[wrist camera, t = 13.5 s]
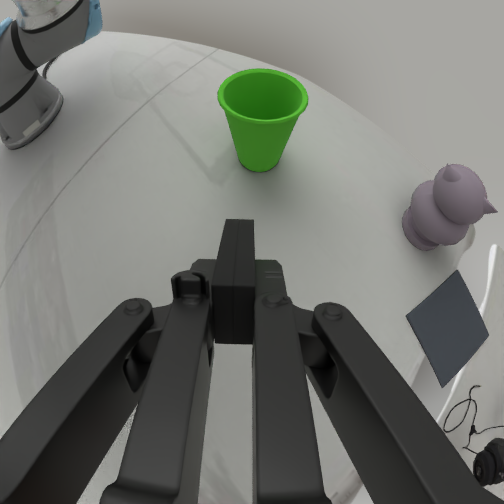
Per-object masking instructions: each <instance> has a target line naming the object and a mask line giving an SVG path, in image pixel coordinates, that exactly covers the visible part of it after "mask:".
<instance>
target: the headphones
mask: <svg viewBox="0 0 504 504" xmlns="http://www.w3.org/2000/svg"><path fill="white" fill-rule="evenodd" d="M474 387H475V386H473V387H472V388H471V389H473V388H474ZM479 387H480V385H479ZM471 389H470V393H471ZM469 395H470V394H469ZM467 400H470V401H471V400H472V399H471V396H470V399H467ZM467 400H465V401H467ZM473 401H474V402H475V400H473ZM462 402H464V401H462ZM462 402H460V403H462ZM460 403H459V404H460ZM459 404H457V405H459ZM475 404H476V402H475ZM457 405H456V406H457ZM469 405H470V402H469ZM456 406H454V407H456ZM453 409H454V408H453ZM453 409H452V410H453ZM468 409H469V406H468ZM468 409H467V411H468ZM452 410H451V411H452ZM451 411H450V412H451ZM476 412H477V405H476ZM449 414H450V413H449ZM449 414H448V416H449ZM466 414H467V412H466ZM466 414H465V416H466ZM448 416H447V418H448ZM475 416H476V413H475ZM447 418H446V420H447ZM464 418H465V417H464ZM474 419H475V417H474ZM446 420H445V423H446ZM463 421H464V419H463ZM463 421H462V422H463ZM462 422H461V423H462ZM461 423H460V424H461ZM473 423H474V420H473ZM460 424H459V425H460ZM459 425H458V426H459ZM458 426H457V427H458ZM444 427H445V424H444ZM457 427H456V428H457ZM498 427H504V426H498ZM491 428H496V427H491ZM454 429H455V428H454ZM454 429H453V430H454ZM488 429H490V428H488ZM485 430H487V429H485ZM485 430H484V431H485ZM444 431H445V429H444ZM451 431H452V430H451ZM445 432H450V431H445ZM476 432H477V431H476V430H475V425H473V426H471V432H470V434H469V435H470V436H471V435H472V434H473V433H476ZM482 432H483V431H482ZM482 432H481V433H482ZM476 434H480V433H476ZM469 443H470V437H469ZM468 445H469V444H468ZM467 447H468V446H467ZM463 448H466V447H463ZM466 449H468V448H466ZM468 450H469V451H471V452H473V451H472V450H470V449H468ZM473 453H475V452H473ZM476 454H477V455H476V458H475V460H474V462H473V474H474V477H475V478H476V480H477V481H478V483H479V484H480V486H482V487H484V486H486V485H492V484H498V483H501V482H503V481H504V439H502V438H495V439H493V440H492V441H490V442H489V443H488V444H487V446H486V447H485V448H484V450H483V451H481V452H479V453H476Z"/></svg>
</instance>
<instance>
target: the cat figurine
mask: <svg viewBox="0 0 504 504" xmlns="http://www.w3.org/2000/svg"><path fill="white" fill-rule="evenodd" d="M496 212H497V210H496V209H495V208H494V207H493V206H492V204H491V203H490V202H489V201H488V200H487V193H486V190H485V187H484V185H483V182H482V181H481V179H480V178H479V176H478V175H477V174H476V173H475V172H473V171H472V170H471V169H469V168H468V167H465V166H463V165H458V164H451V165H448V164H447V165H446V166H445V167H443V168H441V169H440V170H439V172H438V173H437V175H436V176H435V179H434V180H429V181H426V182H424V183H422V184H420V185H419V186H418V187H417V188H416V190H415V191H414V193H413V195H412V200H411V206H410V207H409V208H408V209H407V210H406V211H405V213H404V214H403V219H402V224H403V229H404V232H405V235H406V236H407V238H408V240H409V241H410V242H411V243H412V244H413V245H414V246H415V247H417V248H419V249H420V250H425V251H428V250H432V249H434V248H435V247H437V246H438V245H439V244H441V245H445V246H446V245H454V244H456V243H458V242H459V241H460V240H462V239H463V238H464V237H465V235H466V233H467V231H468V228H469V225H470V224H474V223H476V222H477V221H478V220H480V219H481V218H482V217H483V215H484V214H489V213H496Z"/></svg>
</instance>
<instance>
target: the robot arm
mask: <svg viewBox="0 0 504 504" xmlns="http://www.w3.org/2000/svg"><path fill="white" fill-rule="evenodd" d="M12 1H13V2H14V3H15V5H16V6H17V7H18V8H19V10H18V13H17V17H16V20H15V21H12V19H11V18H10V17H8V18H6V19H5V20H4V21H2V22H1V23H0V137H1V139H2V142H3V143H4V144H5V145H6V146H7V147H8V148H9V149H16V148H20V147H22V146H24V145H26V144H27V143H29V142H30V141H32V140H33V139H34V138H36V137H37V136H38V135H39V134H40V133H41V132H42V131H44V130H45V129H46V127H47V126H48V125H49V124H50V123H51V122H52V121H53V119H54V118H55V117H56V115H57V113H58V112H59V110H60V108H61V106H62V102H63V97H62V95H61V93H60V91H59V90H58V89H57V88H56V87H55V86H54V85H52V84H51V83H50V82H48V81H47V80H46V70H47V68H48V66H49V65H50V64H51V63H52V61H53V60H54V59H55V58H56V57H57V56H59V55H60V54H62V53H64V52H66V51H68V50H70V49H72V48H74V47H76V46H78V45H80V44H83V43H84V42H85V41H87V40H89V39H90V38H92V37H94V36H96V35H98V34H99V33H100V31H101V29H102V15H101V8H100V3H99V0H12ZM48 61H49V62H48ZM46 62H48V63H47V65H46V66H45V68H44V70H43V77H42V76H40V75H39V73H38V71H37V69H36V68H38V67H40V66H41V65H43V64H45V63H46ZM171 284H172V291H173V298H174V299H173V302H172V304H170V305H167V306H162V307H156V308H152V305H151V303H150V302H149V301H148V300H145V299H142V298H132V299H129V300H126V301H124V302H122V303H121V304H120V305H118V306H117V307H116V309H115V310H114V311H113V312H112V313H111V314H110V315H109V316H108V317H107V318H106V319H105V320H104V321H103V322H102V323H101V324H100V325H99V326H98V327H97V328H96V329H95V330H94V331H93V332H92V333H91V334H90V336H89V337H88V338H87V339H86V340H85V341H84V342H83V343H82V344H81V345H80V346H79V347H78V348H77V349H76V351H75V352H74V353H73V354H72V355H71V356H70V357H69V358H68V359H67V360H66V362H65V363H64V364H63V365H62V366H61V367H60V368H59V369H58V371H57V372H56V373H55V374H54V375H53V376H52V377H51V378H50V380H49V381H48V382H47V383H46V384H45V385H44V387H43V388H42V389H41V390H40V391H39V392H38V394H37V395H36V396H35V397H34V398H33V399H32V401H31V402H30V403H29V404H28V405H27V407H26V408H25V409H24V410H23V412H22V413H21V414H20V415H19V416H18V418H17V419H16V420H15V421H14V423H13V424H12V425H11V427H10V428H9V429H8V430H7V432H6V433H5V434H4V435H3V437H2V438H1V439H0V504H76V503H77V501H78V500H79V498H80V496H81V495H82V493H83V491H84V490H85V488H86V486H87V485H88V483H89V481H90V480H91V478H92V477H93V475H94V473H95V472H96V470H97V468H98V467H99V465H100V463H101V462H102V460H103V459H104V457H105V455H106V454H107V452H108V450H109V449H110V447H111V446H112V444H113V442H114V441H115V439H116V437H117V436H118V434H119V433H120V431H121V429H122V428H123V426H124V425H125V423H126V421H127V420H128V418H129V417H130V415H131V413H132V412H133V410H134V409H135V407H136V405H137V404H138V406H137V409H136V412H135V416H134V419H133V422H132V426H131V429H130V433H129V437H128V440H127V444H126V447H125V451H124V455H123V459H122V463H121V466H120V470H119V474H118V477H117V479H116V481H115V482H114V483H112V484H110V485H108V486H107V487H106V488H105V490H104V491H103V493H102V496H101V499H100V503H99V504H198V493H199V482H200V472H201V462H202V452H203V442H204V433H205V424H206V415H207V407H208V398H209V390H210V381H211V373H212V365H213V357H214V346H213V342H214V339H215V343H219V344H253V348H252V441H253V504H332V502H331V500H330V499H329V498H328V497H327V496H326V494H325V492H324V487H323V479H322V472H321V465H320V459H319V452H318V445H317V439H316V433H315V426H314V420H313V414H312V408H311V402H310V396H309V390H308V384H307V379H306V374H307V376H308V378H309V380H310V382H311V383H312V385H313V387H314V389H315V391H316V393H317V395H318V397H319V399H320V401H321V403H322V405H323V407H324V409H325V411H326V413H327V415H328V416H329V418H330V420H331V422H332V424H333V426H334V428H335V430H336V432H337V434H338V436H339V438H340V440H341V442H342V443H343V445H344V447H345V449H346V451H347V453H348V455H349V457H350V459H351V461H352V463H353V465H354V466H355V468H356V470H357V472H358V474H359V476H360V478H361V480H362V482H363V484H364V485H365V487H366V489H367V491H368V493H369V495H370V497H371V499H372V501H373V503H374V504H504V501H503V500H502V499H500V498H498V497H497V496H495V495H494V494H492V493H491V492H489V491H488V490H486V489H485V488H483V487H482V486H480V484H479V483H478V481H477V480H476V478H475V477H474V475H473V474H472V472H471V471H470V469H469V468H468V466H467V465H466V463H465V462H464V461H463V459H462V458H461V456H460V455H459V453H458V452H457V450H456V449H455V448H454V446H453V445H452V443H451V442H450V441H449V439H448V438H447V436H446V435H445V434H444V432H443V431H442V429H441V428H440V427H439V425H438V424H437V423H436V421H435V420H434V419H433V417H432V416H431V414H430V413H429V412H428V411H427V409H426V408H425V406H424V405H423V404H422V402H421V401H420V400H419V398H418V397H417V396H416V394H415V393H414V392H413V390H412V389H411V388H410V386H409V385H408V384H407V383H406V381H405V380H404V379H403V377H402V376H401V375H400V373H399V372H398V371H397V370H396V368H395V367H394V366H393V365H392V363H391V362H390V361H389V359H388V358H387V357H386V356H385V354H384V353H383V352H382V351H381V349H380V348H379V347H378V346H377V344H376V343H375V342H374V341H373V339H372V338H371V337H370V336H369V334H368V333H367V332H366V331H365V329H364V328H363V327H362V326H361V324H360V323H359V322H358V321H357V320H356V318H355V317H354V316H353V315H352V313H351V312H350V311H349V310H348V309H347V308H346V307H344V306H342V305H340V304H337V303H332V302H327V303H322V304H319V305H317V306H316V307H315V309H314V311H310V310H305V309H301V308H299V307H297V306H295V305H293V304H292V301H291V299H290V297H288V296H287V292H286V286H285V281H284V276H283V271H282V266H281V265H280V264H279V263H278V262H277V261H276V260H255V247H254V220H245V219H226V221H225V225H224V230H223V234H222V238H221V242H220V247H219V251H218V256H217V259H198V260H197V261H196V262H194V263H193V264H192V266H191V269H190V270H187V271H183V272H179V273H177V274H175V275H174V276H173V277H172V278H171ZM305 372H306V373H305Z"/></svg>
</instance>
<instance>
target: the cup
mask: <svg viewBox="0 0 504 504" xmlns="http://www.w3.org/2000/svg"><path fill="white" fill-rule="evenodd" d="M218 101H219V104H220V106H221V107H222V108H223V109H224V111H225V114H226V117H227V121H228V124H229V127H230V131H231V134H232V138H233V141H234V144H235V148H236V151H237V154H238V158H239V160H240V162H241V163H242V165H244V167H246V168H247V169H249V170H251V171H255V172H264V171H268V170H270V169H271V168H273V167H274V166H275V165H276V164H277V163H278V161H279V159H280V157H281V155H282V152H283V150H284V148H285V146H286V143H287V141H288V139H289V137H290V135H291V132H292V130H293V128H294V126H295V123H296V121H297V119H298V117H299V115H300V114H301V113H302V112H303V111H305V109H306V107H307V105H308V95H307V92H306V89H305V88H304V87H303V85H302V84H301V83H300V82H299V81H298V80H296V79H295V78H294V77H292V76H290V75H288V74H286V73H283V72H280V71H276V70H271V69H249V70H244V71H240V72H238V73H235V74H233V75H231V76H230V77H228V78H227V79H226V80H225V81H224V82H223V83H222V84H221V86H220V88H219V90H218Z"/></svg>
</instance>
